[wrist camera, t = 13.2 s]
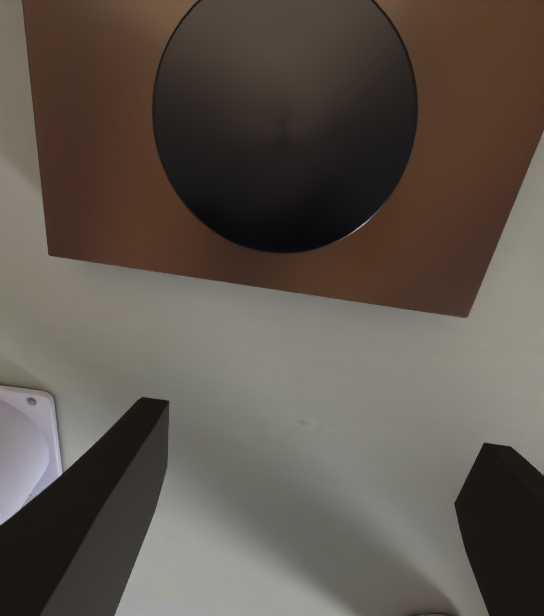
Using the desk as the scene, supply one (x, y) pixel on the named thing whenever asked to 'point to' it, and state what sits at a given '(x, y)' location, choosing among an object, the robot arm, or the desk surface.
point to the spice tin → (284, 118)
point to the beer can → (432, 615)
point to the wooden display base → (328, 260)
